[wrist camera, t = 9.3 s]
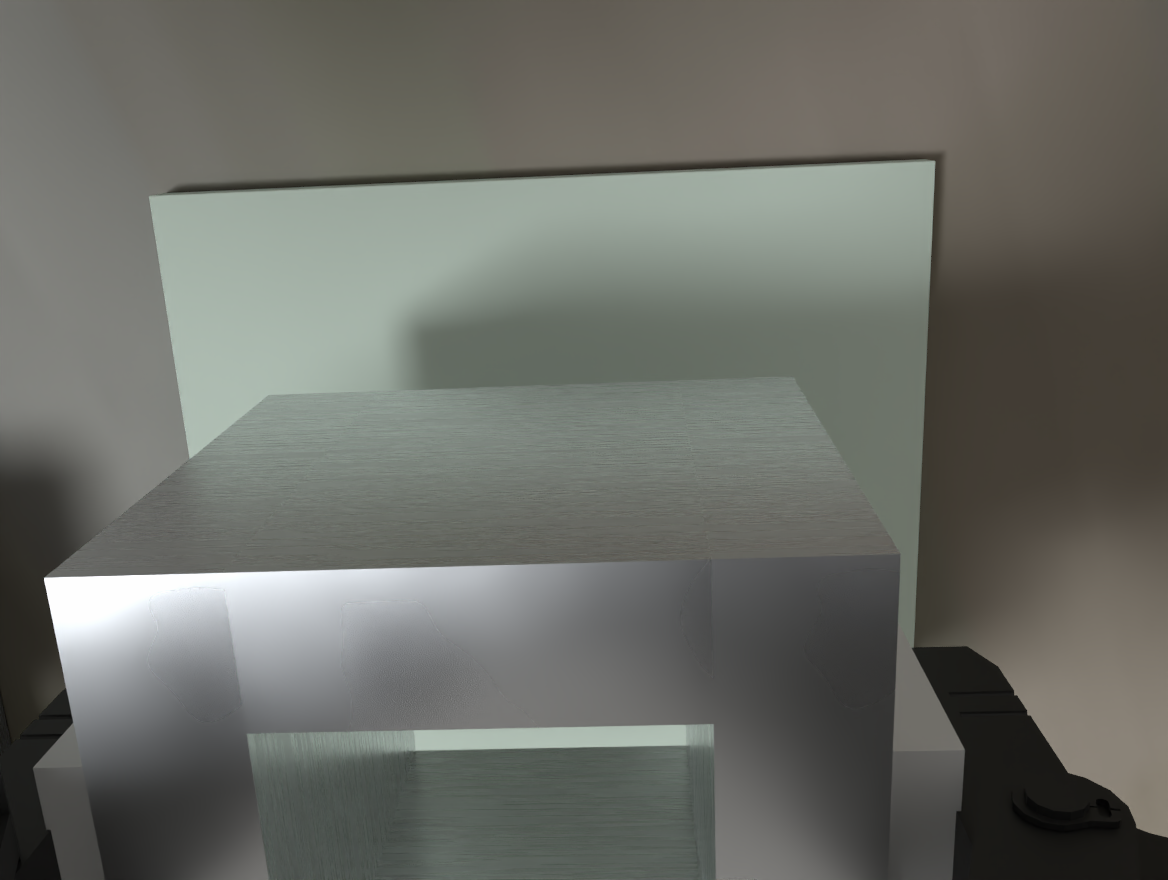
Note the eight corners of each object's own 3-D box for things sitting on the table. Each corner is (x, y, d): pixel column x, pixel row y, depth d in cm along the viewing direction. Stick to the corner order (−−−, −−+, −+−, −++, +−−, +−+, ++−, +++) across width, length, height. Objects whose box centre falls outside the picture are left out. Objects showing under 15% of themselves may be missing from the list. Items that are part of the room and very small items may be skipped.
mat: (164, 193, 18) (148, 196, 17) (924, 158, 17) (935, 160, 17) (261, 834, 21) (251, 854, 21) (897, 824, 21) (905, 844, 20)
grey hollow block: (268, 395, 15) (44, 577, 9) (792, 376, 15) (900, 554, 9) (326, 838, 17) (172, 1216, 11) (788, 831, 17) (874, 1216, 11)
